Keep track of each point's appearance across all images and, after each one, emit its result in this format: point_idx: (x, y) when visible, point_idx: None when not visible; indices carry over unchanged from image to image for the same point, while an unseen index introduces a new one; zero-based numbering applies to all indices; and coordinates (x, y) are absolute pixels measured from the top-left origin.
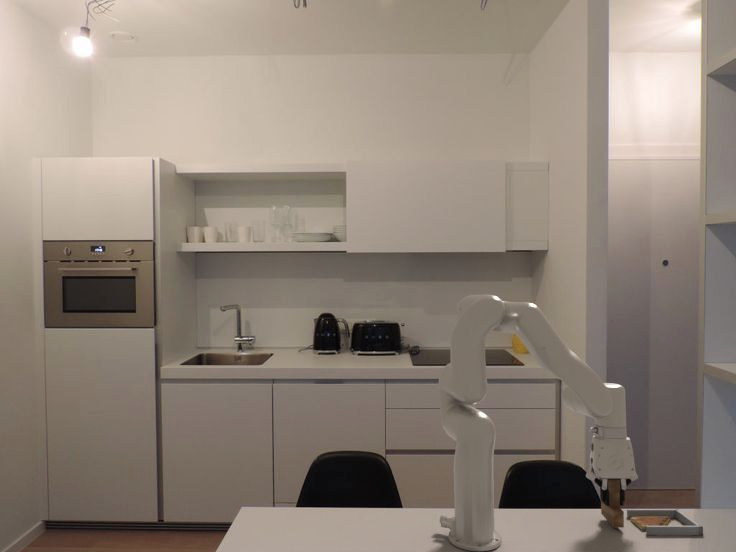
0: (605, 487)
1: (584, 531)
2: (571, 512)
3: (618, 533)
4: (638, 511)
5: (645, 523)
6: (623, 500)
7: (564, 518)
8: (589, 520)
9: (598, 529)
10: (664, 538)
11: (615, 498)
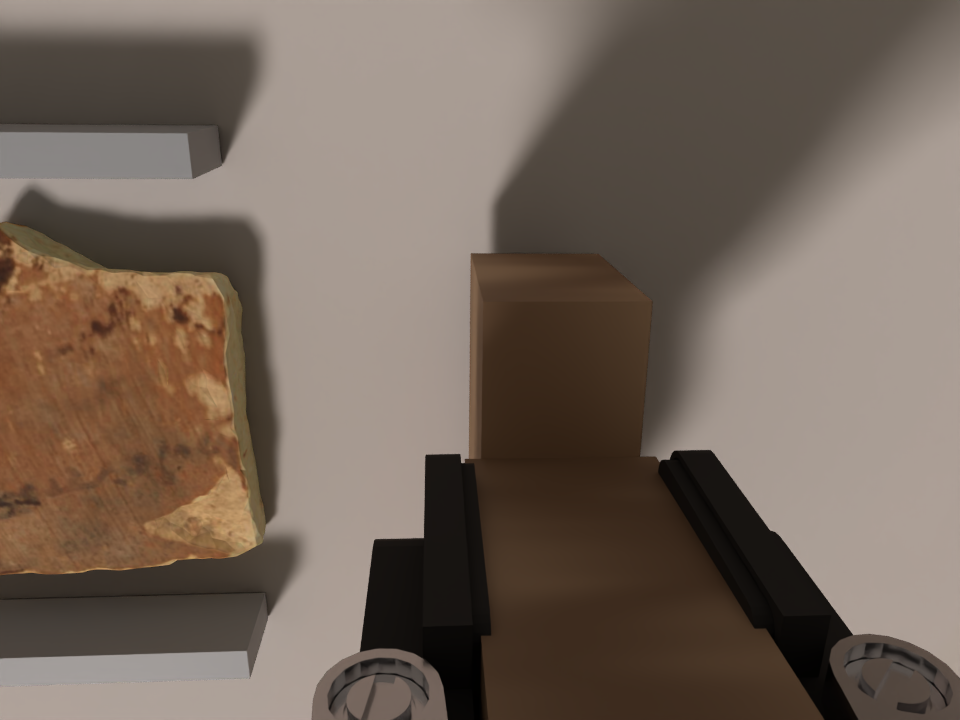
0: (868, 685)
1: (928, 242)
2: None
3: (560, 183)
4: (122, 645)
5: (150, 347)
6: (395, 541)
7: (947, 566)
8: None
9: (739, 297)
10: (29, 20)
11: (565, 535)
